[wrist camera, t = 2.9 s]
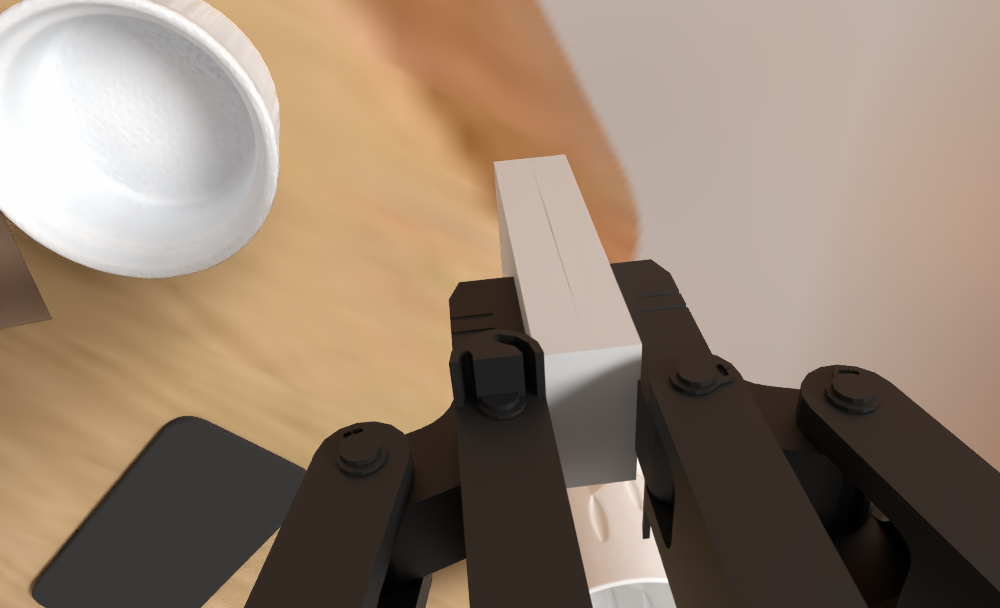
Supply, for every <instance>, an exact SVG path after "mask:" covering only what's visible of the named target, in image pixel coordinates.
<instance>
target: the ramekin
mask: <svg viewBox="0 0 1000 608" xmlns="http://www.w3.org/2000/svg"><path fill="white" fill-rule="evenodd" d="M279 131H280V121H279V102H278V98H277V95H276V90H275V85H274V82H273V80H272V78H271V75H270V72H269V70H268V68H267V66H266V64H265V63H264V61H263V59H262V57H261V55H260V53H259V52H258V51H257V50H256V48H255V47H254V46H253V45H252V43H251V41H250V40H249V39H248V38H247V37H246V36H245V34H244V33H243V32H242V31H241V30H240V29H239V28H238V27H237V26H236V25H235V24H234V23H233V22H232V21H230V20H229V19H228V18H227V17H226V16H225V15H224V14H222V13H221V12H220V11H218V10H216V9H215V8H213V7H212V6H210V5H209V4H208V3H206V2H205V1H203V0H23V1H21V2H19V3H17V4H15V5H13V6H11V7H9V8H8V9H7V10H5V11H4V12H2V13H1V14H0V210H1V211H2V212H3V213H4V215H5V216H6V217H8V218H9V219H10V220H11V221H12V222H13V223H14V224H15V225H16V226H17V227H19V228H20V229H21V230H22V231H23V232H25V233H26V234H27V235H28V236H30V237H31V238H33V239H34V240H35V241H37V242H38V243H40V244H41V245H43V246H45V247H46V248H48V249H50V250H52V251H53V252H55V253H57V254H59V255H61V256H63V257H65V258H67V259H69V260H71V261H73V262H76V263H79V264H81V265H84V266H87V267H89V268H93V269H96V270H99V271H103V272H106V273H110V274H116V275H122V276H127V277H137V278H146V279H153V278H167V277H176V276H182V275H187V274H191V273H195V272H199V271H202V270H203V269H207V268H210V267H212V266H214V265H217V264H219V263H221V262H222V261H224V260H226V259H227V258H229V257H231V256H233V255H234V254H235V253H236V252H238V251H239V250H240V249H241V248H242V247H244V246H245V245H246V244H247V243H248V242H249V241H250V240H251V239H252V238H253V236H254V235H255V234H256V233H257V232H258V230H259V229H260V227H261V226H262V224H263V223H264V221H265V219H266V217H267V216H268V213H269V211H270V209H271V207H272V205H273V201H274V198H275V195H276V191H277V185H278V178H279V149H278V146H279Z"/></svg>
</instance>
